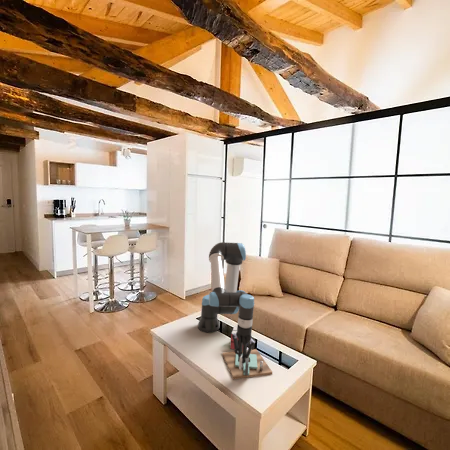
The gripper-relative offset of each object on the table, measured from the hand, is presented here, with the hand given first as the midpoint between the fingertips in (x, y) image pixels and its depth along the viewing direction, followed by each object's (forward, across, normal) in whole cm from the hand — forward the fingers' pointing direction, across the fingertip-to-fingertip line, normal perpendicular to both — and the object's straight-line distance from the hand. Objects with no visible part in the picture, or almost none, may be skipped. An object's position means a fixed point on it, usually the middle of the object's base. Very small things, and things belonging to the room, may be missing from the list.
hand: (241, 367), depth 136 cm
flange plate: (+2, 0, +7) cm, 7 cm away
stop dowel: (+3, +8, +8) cm, 12 cm away
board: (+4, -2, +10) cm, 11 cm away
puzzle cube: (+5, -13, +24) cm, 28 cm away
